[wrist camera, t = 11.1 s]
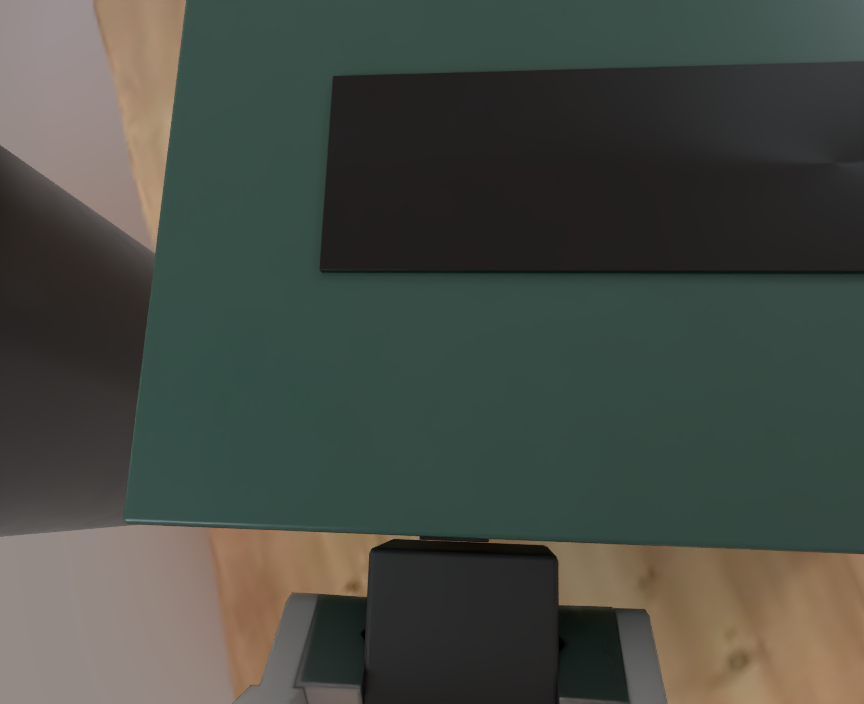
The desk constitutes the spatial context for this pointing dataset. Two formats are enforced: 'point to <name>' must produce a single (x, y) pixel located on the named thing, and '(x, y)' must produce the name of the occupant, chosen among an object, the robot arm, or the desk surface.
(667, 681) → the desk surface
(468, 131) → the toaster
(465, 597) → the handle
